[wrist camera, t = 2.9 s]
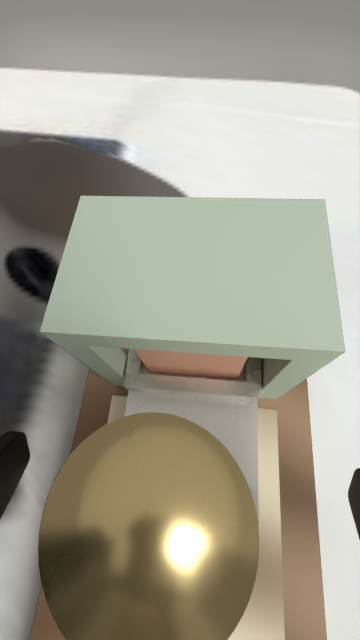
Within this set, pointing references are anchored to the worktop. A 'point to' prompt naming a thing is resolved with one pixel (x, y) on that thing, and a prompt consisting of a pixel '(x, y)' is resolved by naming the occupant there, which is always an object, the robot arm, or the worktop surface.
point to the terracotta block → (192, 364)
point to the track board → (274, 517)
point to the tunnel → (199, 284)
